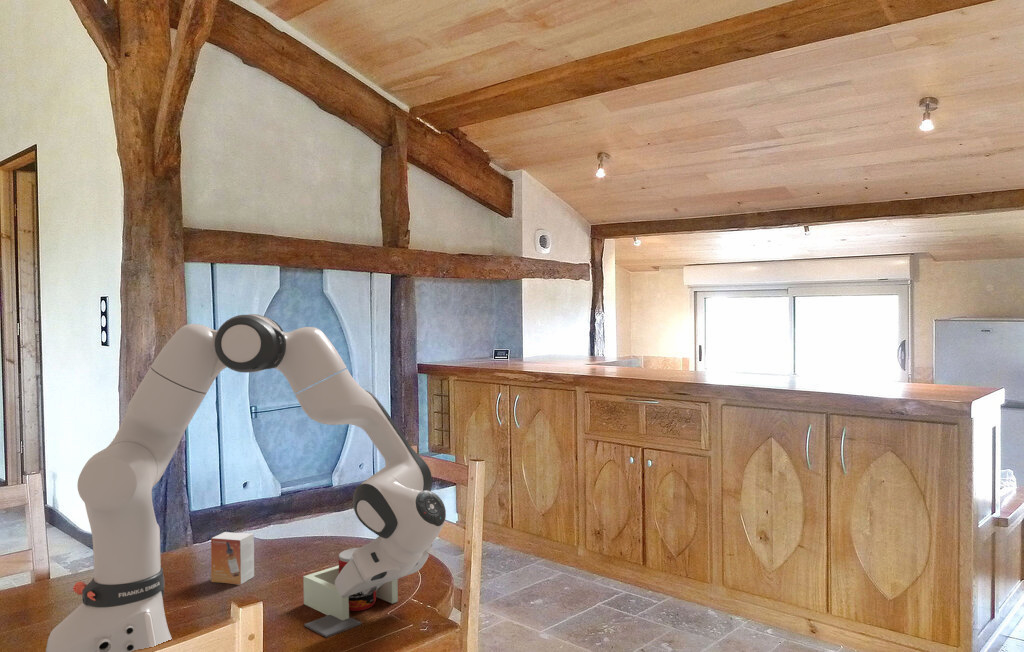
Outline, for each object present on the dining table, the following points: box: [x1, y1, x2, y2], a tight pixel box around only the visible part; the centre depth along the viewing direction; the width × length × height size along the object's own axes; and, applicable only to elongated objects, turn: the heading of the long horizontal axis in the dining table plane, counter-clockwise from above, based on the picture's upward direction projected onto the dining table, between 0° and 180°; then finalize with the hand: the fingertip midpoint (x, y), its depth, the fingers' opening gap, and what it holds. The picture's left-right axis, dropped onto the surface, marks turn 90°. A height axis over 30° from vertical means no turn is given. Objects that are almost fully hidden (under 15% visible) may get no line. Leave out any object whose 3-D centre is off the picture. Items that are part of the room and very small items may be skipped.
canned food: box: [338, 547, 377, 612], centre depth 155 cm, size 8×8×11 cm
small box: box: [210, 531, 255, 586], centre depth 171 cm, size 8×6×10 cm
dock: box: [302, 564, 399, 620], centre depth 156 cm, size 14×14×6 cm
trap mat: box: [303, 615, 362, 639], centre depth 145 cm, size 8×8×1 cm
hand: (368, 589), depth 151 cm, fingers closed, pressing on canned food
